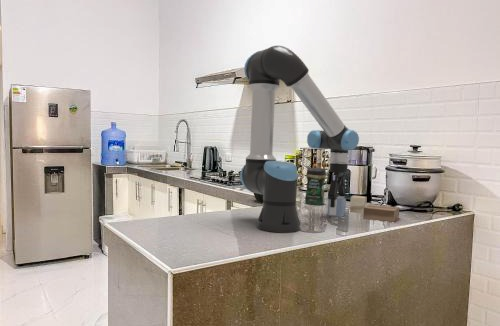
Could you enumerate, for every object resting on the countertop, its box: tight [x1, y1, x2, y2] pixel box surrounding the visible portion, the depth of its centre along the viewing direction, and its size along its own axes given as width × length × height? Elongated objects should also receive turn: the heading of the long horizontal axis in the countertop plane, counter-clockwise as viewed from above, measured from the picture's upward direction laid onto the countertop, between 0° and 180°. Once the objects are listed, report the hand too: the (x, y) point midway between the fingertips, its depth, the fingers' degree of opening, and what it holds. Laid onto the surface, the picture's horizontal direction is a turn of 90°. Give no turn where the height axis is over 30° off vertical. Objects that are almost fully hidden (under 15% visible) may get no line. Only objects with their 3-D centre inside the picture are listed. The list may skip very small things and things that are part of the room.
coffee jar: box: [304, 167, 327, 206], centre depth 199 cm, size 10×8×19 cm
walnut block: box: [363, 204, 400, 223], centre depth 164 cm, size 12×12×5 cm
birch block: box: [349, 195, 368, 214], centre depth 179 cm, size 6×6×7 cm
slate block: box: [327, 197, 347, 218], centre depth 169 cm, size 6×6×7 cm
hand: (336, 212), depth 169 cm, fingers open, 12 cm apart
